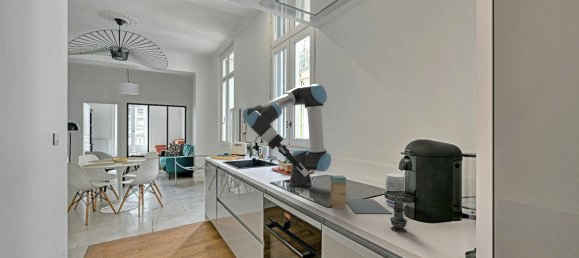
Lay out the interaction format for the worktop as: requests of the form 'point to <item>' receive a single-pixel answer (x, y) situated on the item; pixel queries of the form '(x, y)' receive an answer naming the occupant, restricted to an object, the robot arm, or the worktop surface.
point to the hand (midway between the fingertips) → (306, 174)
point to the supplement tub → (394, 185)
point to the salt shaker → (398, 217)
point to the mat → (366, 206)
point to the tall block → (338, 191)
